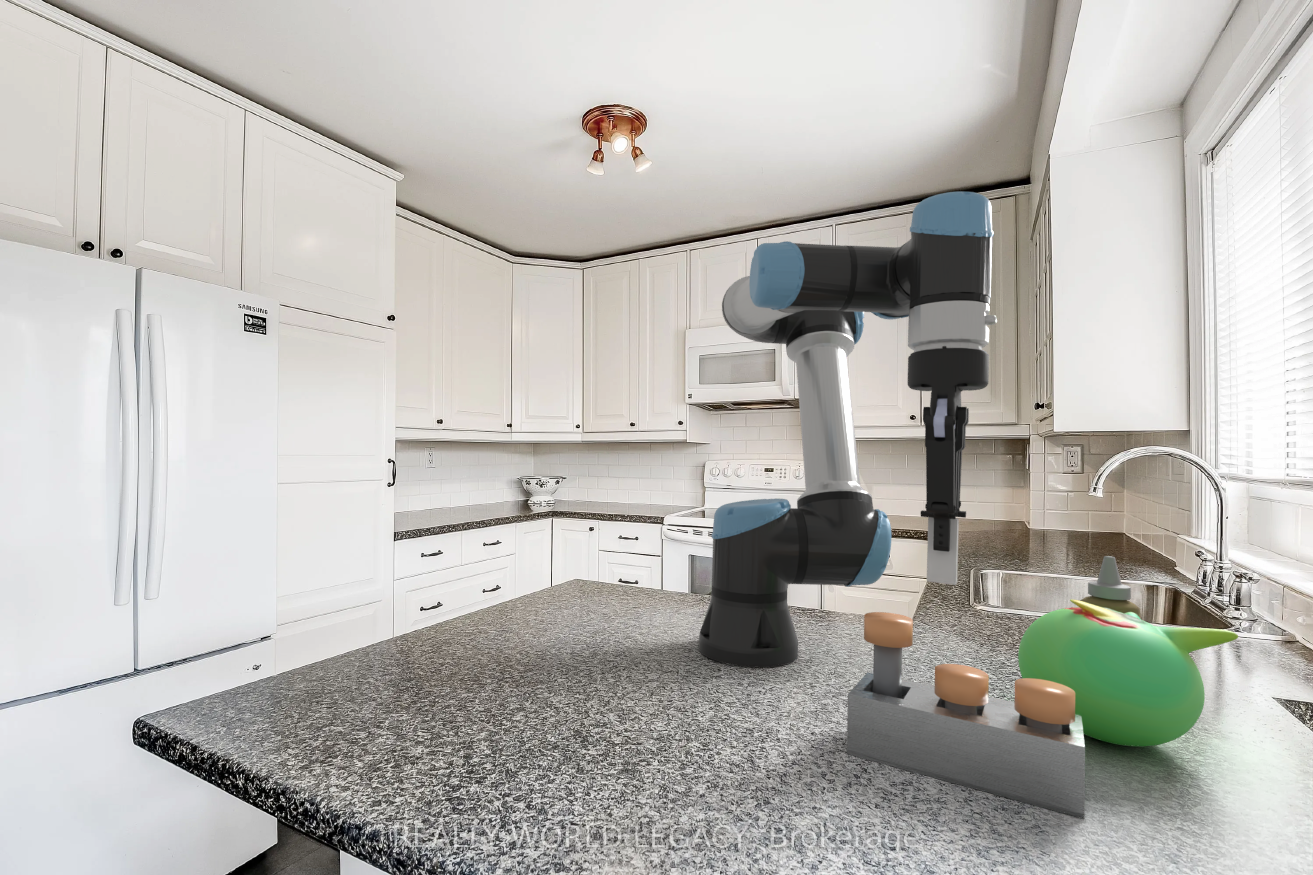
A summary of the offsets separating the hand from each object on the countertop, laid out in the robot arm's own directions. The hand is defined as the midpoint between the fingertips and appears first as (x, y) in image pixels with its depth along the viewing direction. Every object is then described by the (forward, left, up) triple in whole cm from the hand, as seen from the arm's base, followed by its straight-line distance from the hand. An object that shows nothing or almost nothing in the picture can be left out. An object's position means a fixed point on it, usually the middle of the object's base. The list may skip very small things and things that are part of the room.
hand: (941, 581), depth 64 cm
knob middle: (+2, -1, -16) cm, 16 cm away
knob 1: (-5, -1, -12) cm, 13 cm away
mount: (+2, -1, -18) cm, 18 cm away
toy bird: (+15, +17, -18) cm, 29 cm away
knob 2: (+9, -1, -16) cm, 18 cm away
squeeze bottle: (+16, +33, -18) cm, 41 cm away
